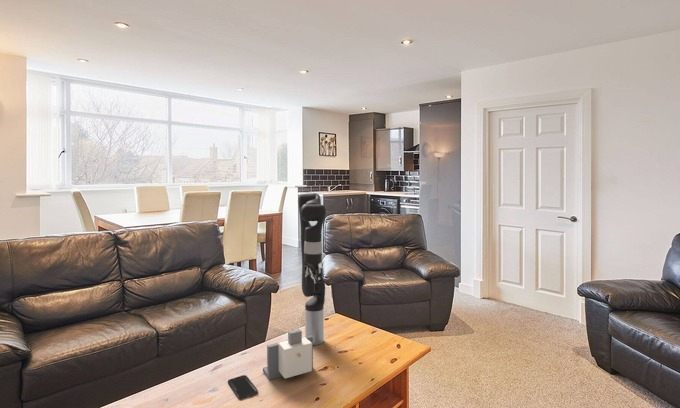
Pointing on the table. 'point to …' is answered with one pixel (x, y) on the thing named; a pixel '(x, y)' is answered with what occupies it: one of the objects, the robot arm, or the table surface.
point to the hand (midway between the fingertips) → (312, 288)
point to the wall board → (272, 360)
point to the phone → (242, 387)
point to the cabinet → (294, 355)
